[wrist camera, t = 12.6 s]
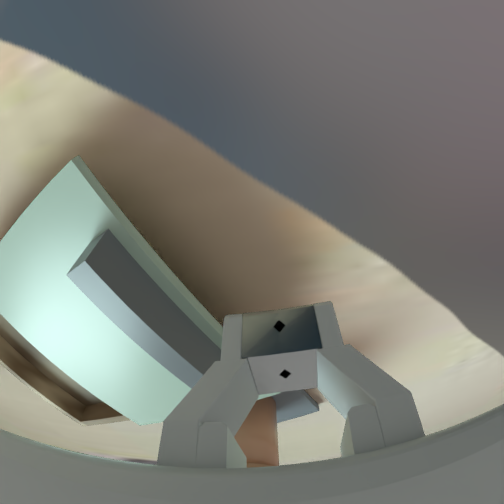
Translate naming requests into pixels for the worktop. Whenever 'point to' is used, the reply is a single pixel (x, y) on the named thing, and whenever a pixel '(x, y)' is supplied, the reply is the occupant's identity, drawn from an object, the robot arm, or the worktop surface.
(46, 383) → the shallow wooden tray
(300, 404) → the mat
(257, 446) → the mushroom head peg
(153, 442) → the worktop surface
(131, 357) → the lid
